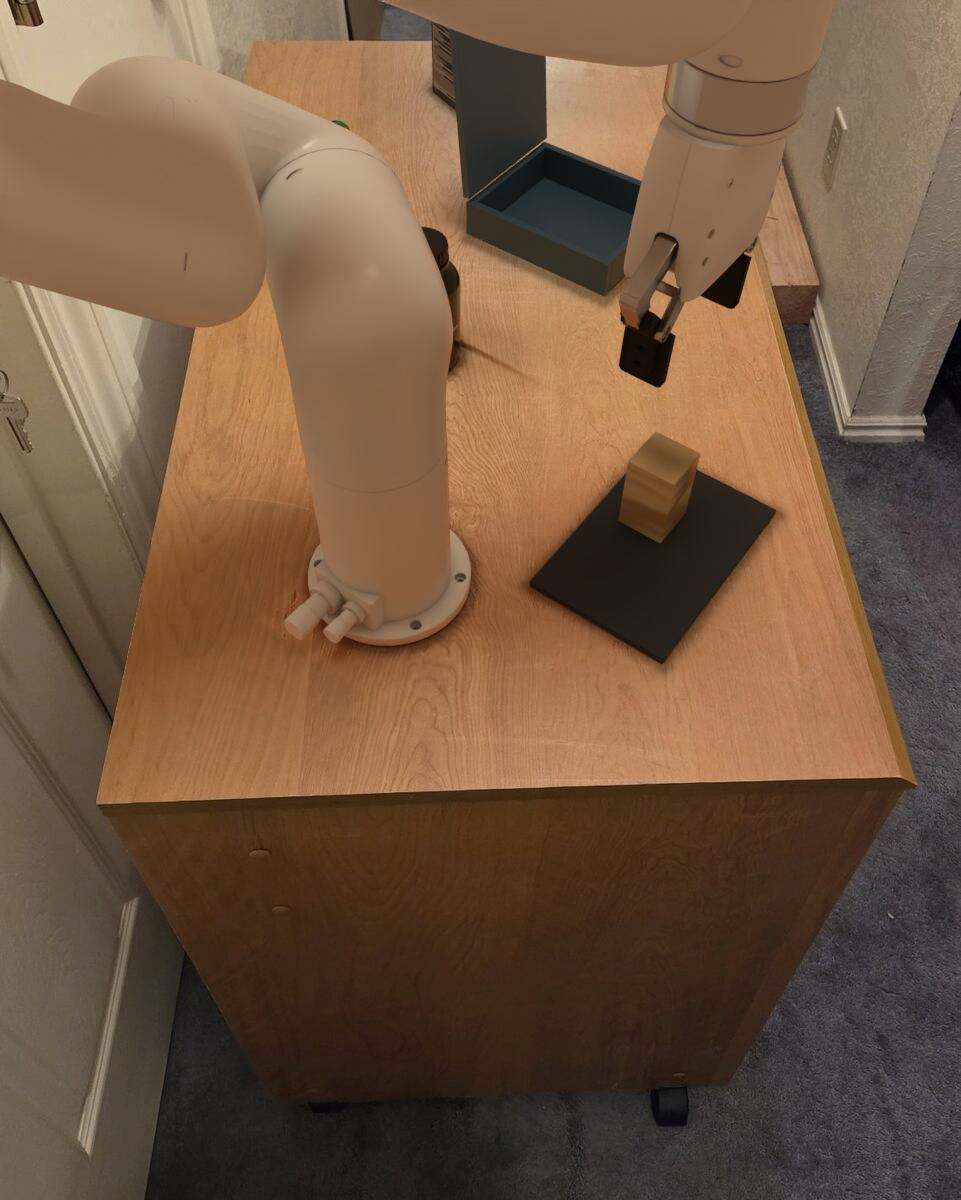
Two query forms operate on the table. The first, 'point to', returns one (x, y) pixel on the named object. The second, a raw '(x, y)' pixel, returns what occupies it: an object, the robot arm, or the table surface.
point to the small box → (442, 64)
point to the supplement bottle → (447, 283)
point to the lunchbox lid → (495, 107)
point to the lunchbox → (560, 216)
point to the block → (658, 486)
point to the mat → (653, 565)
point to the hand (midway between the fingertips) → (679, 336)
